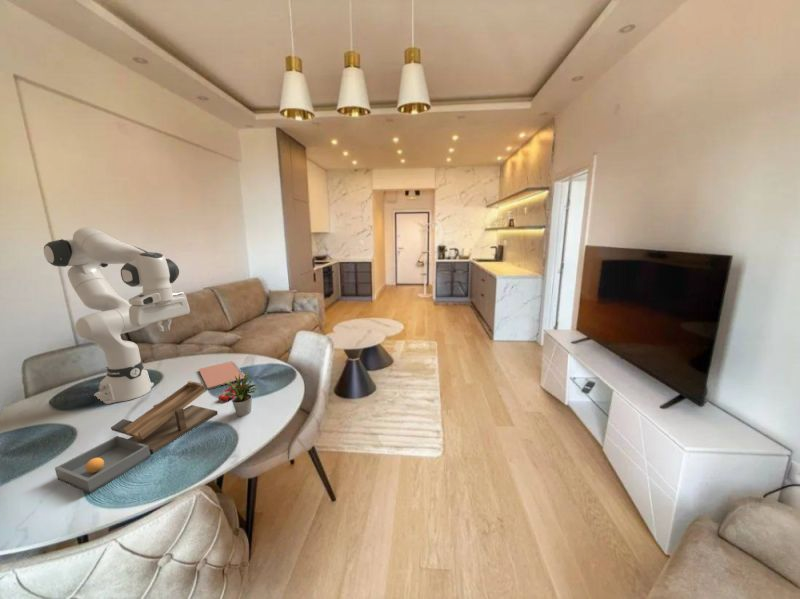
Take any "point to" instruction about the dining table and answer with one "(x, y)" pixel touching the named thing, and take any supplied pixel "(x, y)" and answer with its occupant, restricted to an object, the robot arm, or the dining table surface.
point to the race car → (223, 399)
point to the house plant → (241, 395)
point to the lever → (160, 412)
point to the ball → (94, 465)
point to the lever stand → (176, 426)
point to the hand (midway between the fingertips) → (164, 331)
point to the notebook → (220, 374)
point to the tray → (116, 462)
